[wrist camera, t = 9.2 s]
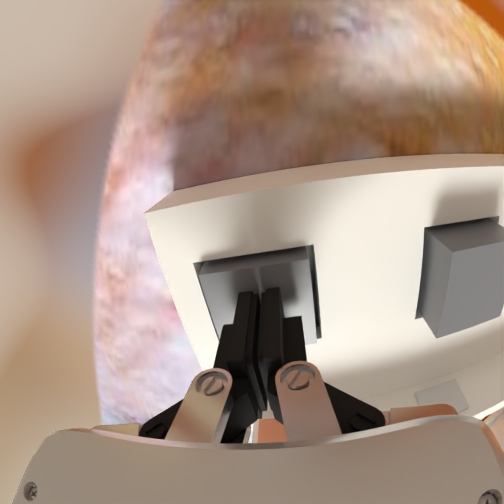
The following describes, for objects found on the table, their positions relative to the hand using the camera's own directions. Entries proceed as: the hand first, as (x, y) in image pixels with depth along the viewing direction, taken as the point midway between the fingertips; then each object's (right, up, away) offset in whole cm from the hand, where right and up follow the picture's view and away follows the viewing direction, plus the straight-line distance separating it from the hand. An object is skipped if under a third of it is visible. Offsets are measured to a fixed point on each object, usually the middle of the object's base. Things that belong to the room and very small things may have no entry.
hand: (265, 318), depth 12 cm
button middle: (+10, +2, 0) cm, 10 cm away
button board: (+11, +1, +4) cm, 11 cm away
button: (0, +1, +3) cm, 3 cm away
